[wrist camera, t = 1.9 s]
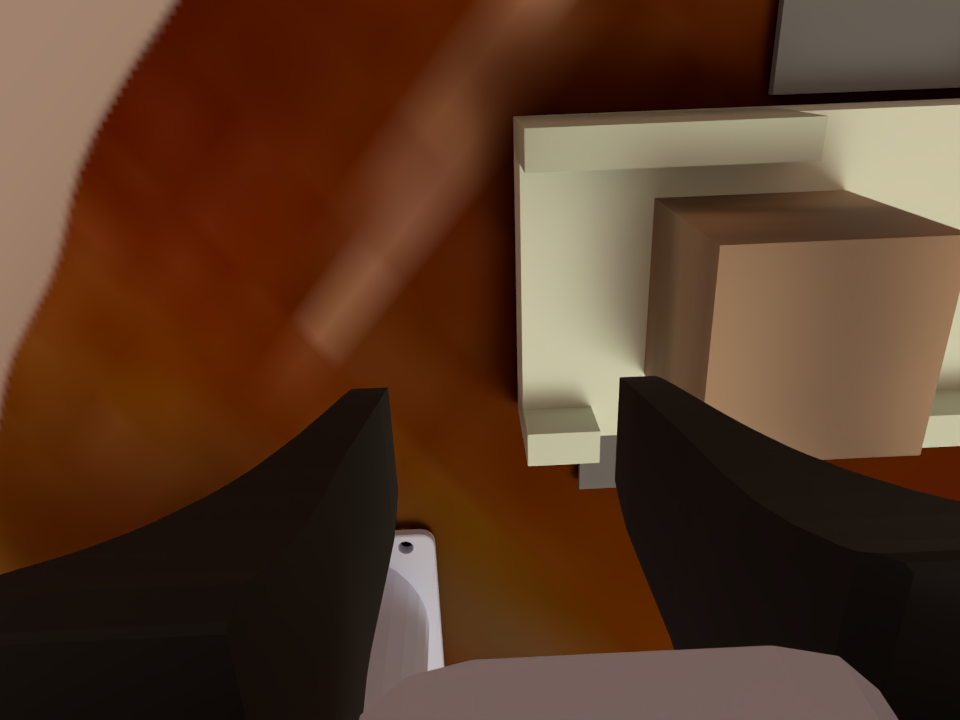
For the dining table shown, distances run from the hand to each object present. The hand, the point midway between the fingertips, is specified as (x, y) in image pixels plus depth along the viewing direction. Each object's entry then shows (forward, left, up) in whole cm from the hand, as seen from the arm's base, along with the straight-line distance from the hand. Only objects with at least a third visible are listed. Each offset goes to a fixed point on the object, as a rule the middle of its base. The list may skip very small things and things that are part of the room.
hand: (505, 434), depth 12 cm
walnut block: (+7, 0, -8) cm, 10 cm away
